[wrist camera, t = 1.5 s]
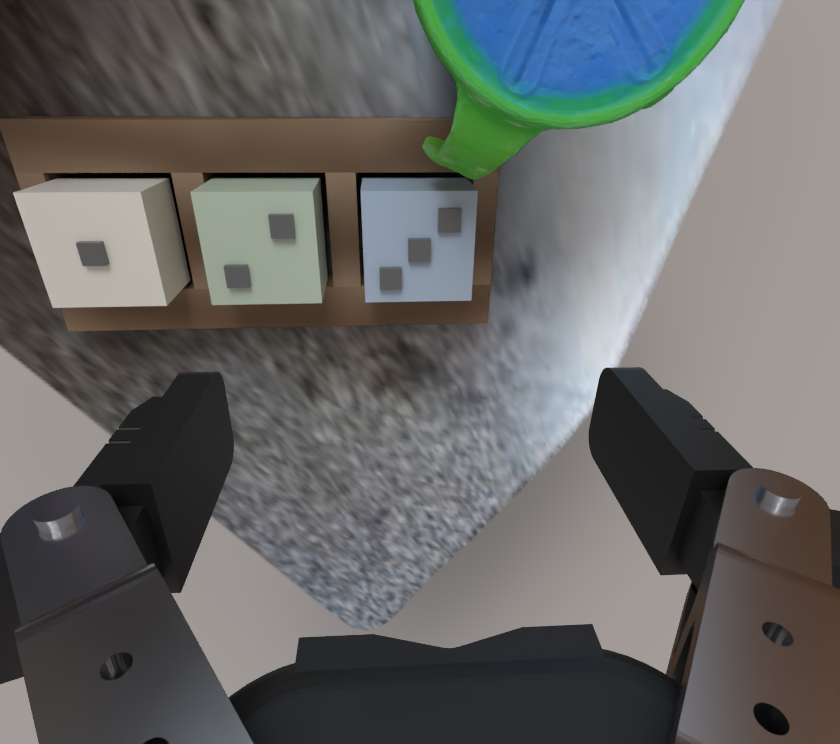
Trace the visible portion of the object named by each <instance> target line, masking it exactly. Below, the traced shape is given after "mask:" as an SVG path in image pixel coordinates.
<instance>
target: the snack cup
mask: <svg viewBox="0 0 840 744" xmlns="http://www.w3.org/2000/svg"><path fill="white" fill-rule="evenodd" d="M413 1H414V5H415V9H416V13H417V15H418V18H419V20H420V22H421V25H422V27H423V29H424V31H425V34H426V36H427V38H428V40H429V41H430V43H431V45H432V47H433V49H434V51H435V53H436V54H437V56H438V57H439V59H440V60H441V62H442V63H443V65H444V66H445V67H446V68H447V70H448V71H449V72H450V73H451V75H452V76H453V78H454V80H455V84H456V88H457V102H456V108H455V112H454V119H453V124H452V128H451V132H450V134H449V136H448V137H447V139H446V140H445V141H443V140H441V139H439V138H436V137H431V136H430V137H427V138H426V139H425V141H424V144H423V146H422V147H423V150H424V151H425V153H426V154H427V156H428V157H429V158H430V159H431V160H432V161H434V162H436V163H437V164H439V165H441V166H444V167H448V168H449V169H451V170H453V171H455V172H459V173H460V174H462V175H463V176H465V177H467V178H470V179H473V180H477V179H479V178H481V177H484V176H486V175H488V174H490V173H492V172H493V171H495V170H496V169H497V168H498V167H499V166H500V165H502V164H504V163H505V162H506V161H507V160H508V159H510V158H511V157H512V156H513V155H515V154H516V153H517V152H518V151H519V150H520V149H521V148H522V147H523V146H524V145H525V144H526V143H527V142H529V141H530V140H531V139H532V138H533V137H535V136H536V135H538V134H539V133H540V132H541V131H545V130H548V129H579V128H586V127H592V126H598V125H603V124H607V123H612V122H614V121H617V120H620V119H622V118H625V117H627V116H629V115H631V114H633V113H635V112H637V111H639V110H641V109H646V108H649V107H651V106H653V105H654V104H656V103H657V102H659V101H660V100H662V99H663V98H664V97H666V96H667V95H668V94H669V93H670V92H671V91H672V90H673V89H674V87H675V86H676V85H678V84H679V83H680V82H681V81H682V80H684V79H685V78H686V77H687V76H688V75H689V74H690V73H691V72H692V71H693V70H694V69H695V68H696V67H697V66H698V65H699V64H700V63H701V62H702V61H703V60H704V58H705V57H706V56H707V55H708V54H709V53H710V52H711V50H712V49H713V48H714V47H715V46H716V44H717V43H718V42H719V40H720V39H721V38H722V37H723V35H724V34H725V33H726V32H727V31H728V29H729V27H730V25H731V24H732V22H733V21H734V19H735V17H736V15H737V13H738V12H739V10H740V8H741V6H742V4H743V2H744V1H745V0H413Z"/></svg>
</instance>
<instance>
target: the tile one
mask: <svg viewBox="0 0 840 744" xmlns="http://www.w3.org/2000/svg"><path fill="white" fill-rule="evenodd" d="M13 194H14V197H15V200H16V203H17V206H18V209H19V212H20V215H21V218H22V220H23V223H24V226H25V229H26V232H27V235H28V238H29V241H30V244H31V246H32V249H33V252H34V255H35V258H36V261H37V264H38V267H39V270H40V272H41V275H42V278H43V281H44V284H45V287H46V290H47V293H48V296H49V298H50V301H51V304H52V307H53V308H75V307H132V306H167V305H168V304H169V303H170V302H171V301H172V300H173V299H174V298H175V297H176V296H177V294H178V293H179V292H180V291H181V290H182V289H183V288H184V287H185V286H186V285H187V283H188V282H189V281H190V276H189V271H188V266H187V261H186V257H185V252H184V247H183V242H182V237H181V232H180V228H179V223H178V218H177V213H176V208H175V204H174V199H173V194H172V189H171V184H170V179H169V178H56V179H53V180H50V181H47V182H44V183H41V184H38V185H35V186H32V187H29V188H26V189H22V190H19V191H16V192H13Z"/></svg>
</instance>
